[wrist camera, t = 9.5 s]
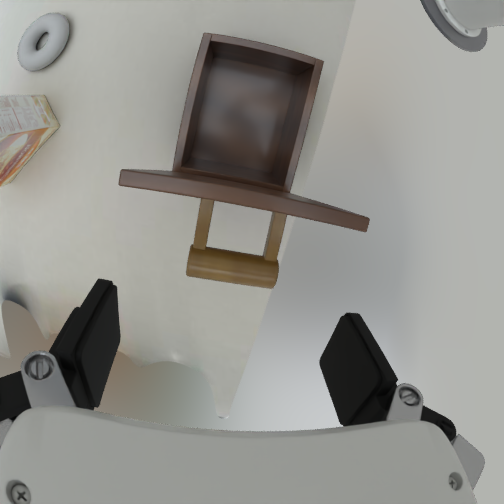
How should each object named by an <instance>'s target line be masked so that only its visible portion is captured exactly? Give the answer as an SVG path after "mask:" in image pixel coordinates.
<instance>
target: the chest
mask: <svg viewBox="0 0 504 504" xmlns="http://www.w3.org/2000/svg"><path fill="white" fill-rule="evenodd" d="M323 63H324V61H322V60H319V59H316V58H314V57H311V56H308V55H304V54H301V53H298V52H295V51H291V50H288V49H284V48H280V47H277V46H273V45H269V44H264V43H260V42H256V41H251V40H246V39H241V38H236V37H230V36H224V35H218V34H211V33H204V34H203V37H202V40H201V44H200V47H199V51H198V54H197V58H196V62H195V66H194V69H193V73H192V77H191V81H190V85H189V89H188V94H187V98H186V102H185V107H184V111H183V116H182V121H181V126H180V131H179V136H178V141H177V147H176V152H175V158H174V164H173V170H172V171H176V172H182V173H188V174H194V175H200V176H206V177H212V178H217V179H223V180H228V181H234V182H239V183H244V184H249V185H254V186H259V187H263V188H268V189H273V190H277V191H282V192H286V193H290V190H291V186H292V183H293V179H294V175H295V171H296V168H297V164H298V160H299V157H300V153H301V149H302V145H303V142H304V138H305V134H306V130H307V126H308V122H309V119H310V115H311V111H312V107H313V103H314V99H315V95H316V91H317V87H318V83H319V79H320V75H321V71H322V67H323Z"/></svg>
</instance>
